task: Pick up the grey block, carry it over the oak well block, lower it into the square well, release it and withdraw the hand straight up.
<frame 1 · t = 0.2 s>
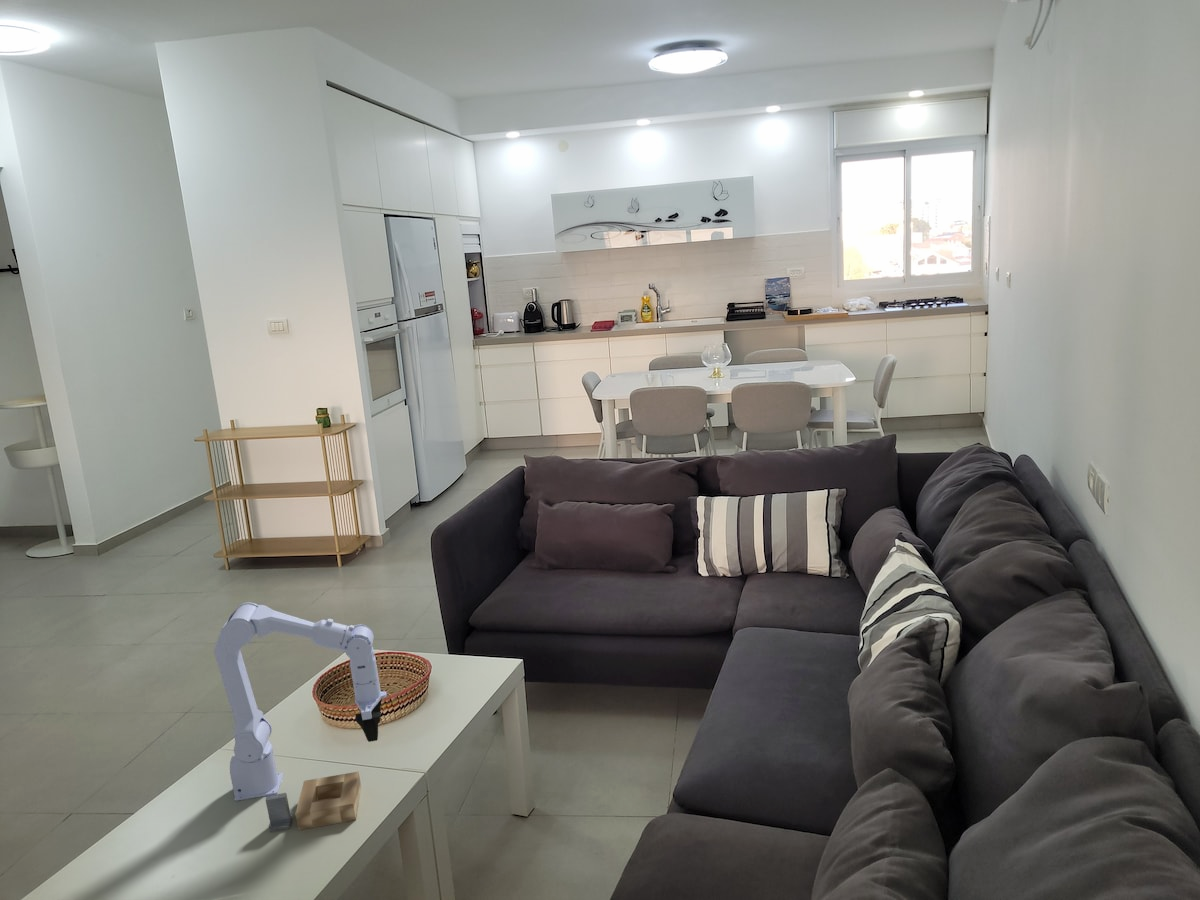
hand: (374, 731, 207), 10 cm above the table, fingers open, 7 cm apart
well block: (330, 807, 196), on the table
grey block: (281, 824, 192), on the table
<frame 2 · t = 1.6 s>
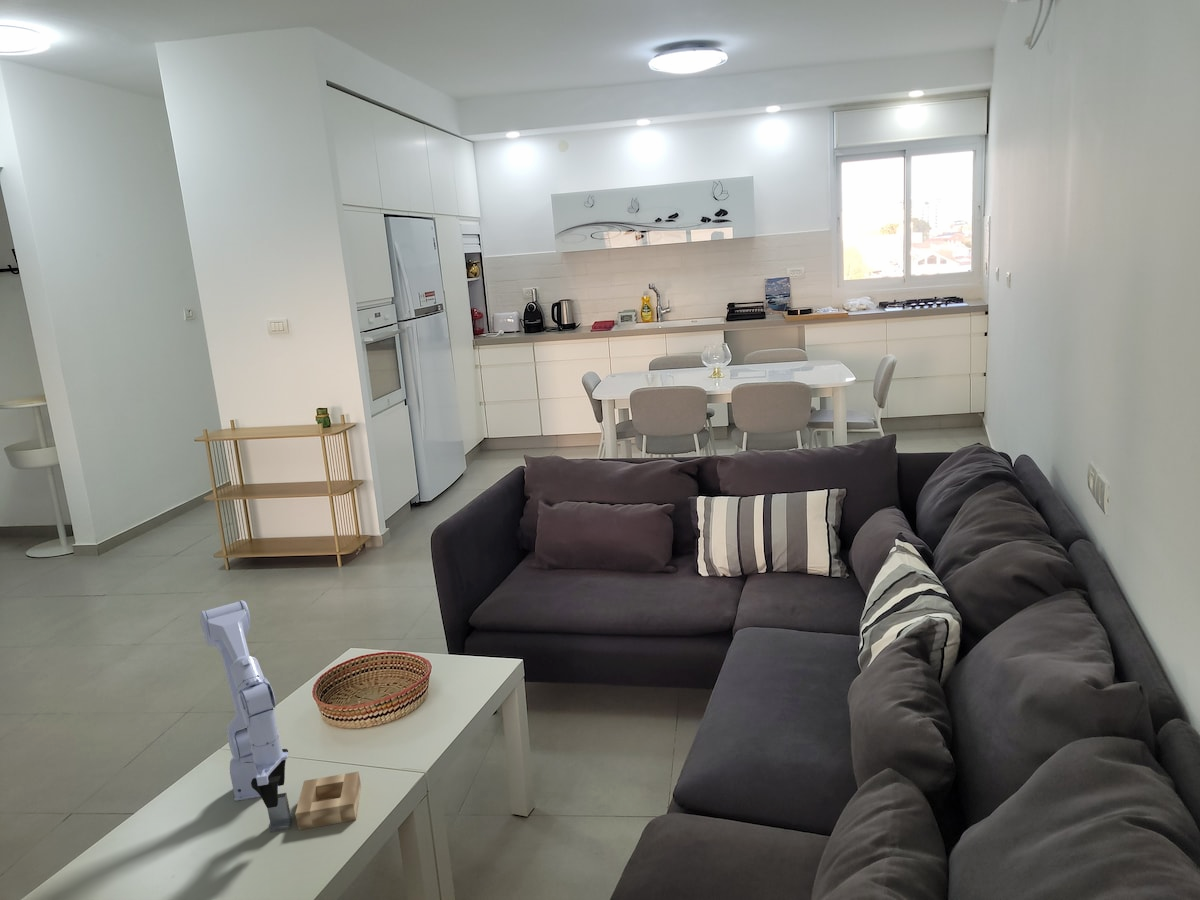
hand: (275, 795, 190), 7 cm above the table, fingers open, 7 cm apart
nothing on the table moved.
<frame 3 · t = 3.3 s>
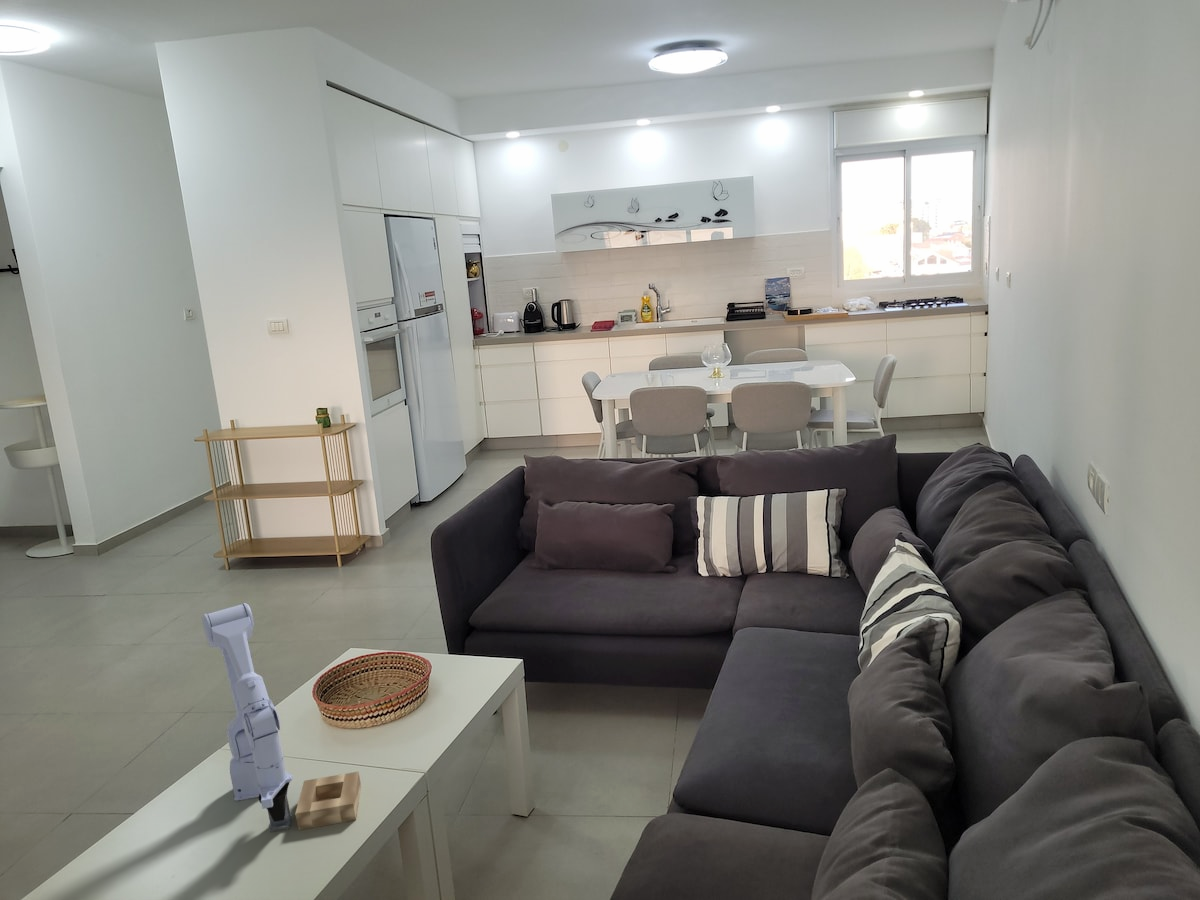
hand: (280, 816, 191), 2 cm above the table, fingers closed on grey block
grey block: (281, 824, 192), on the table, touching gripper
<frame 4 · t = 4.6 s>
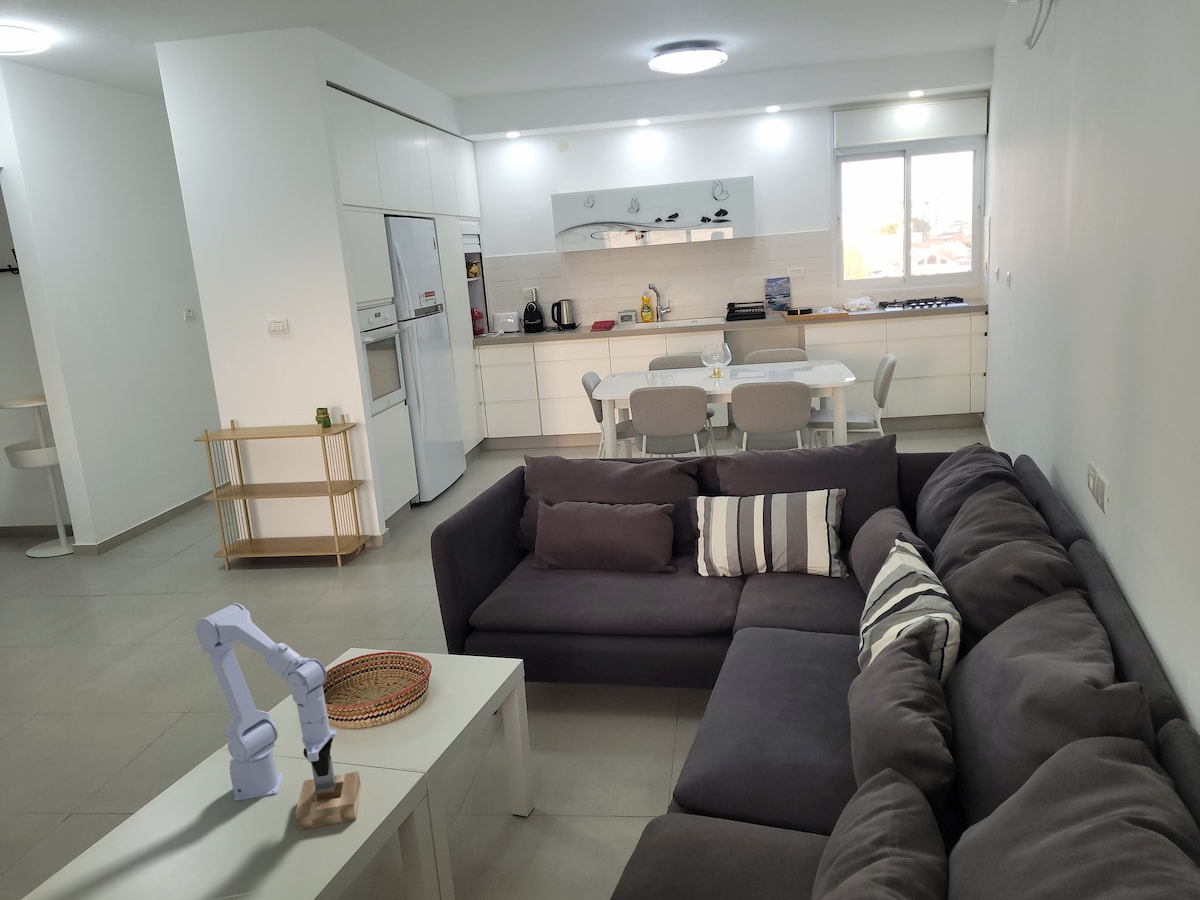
hand: (323, 772, 194), 9 cm above the table, fingers closed on grey block
grey block: (325, 787, 195), point 5 cm above the table, touching gripper
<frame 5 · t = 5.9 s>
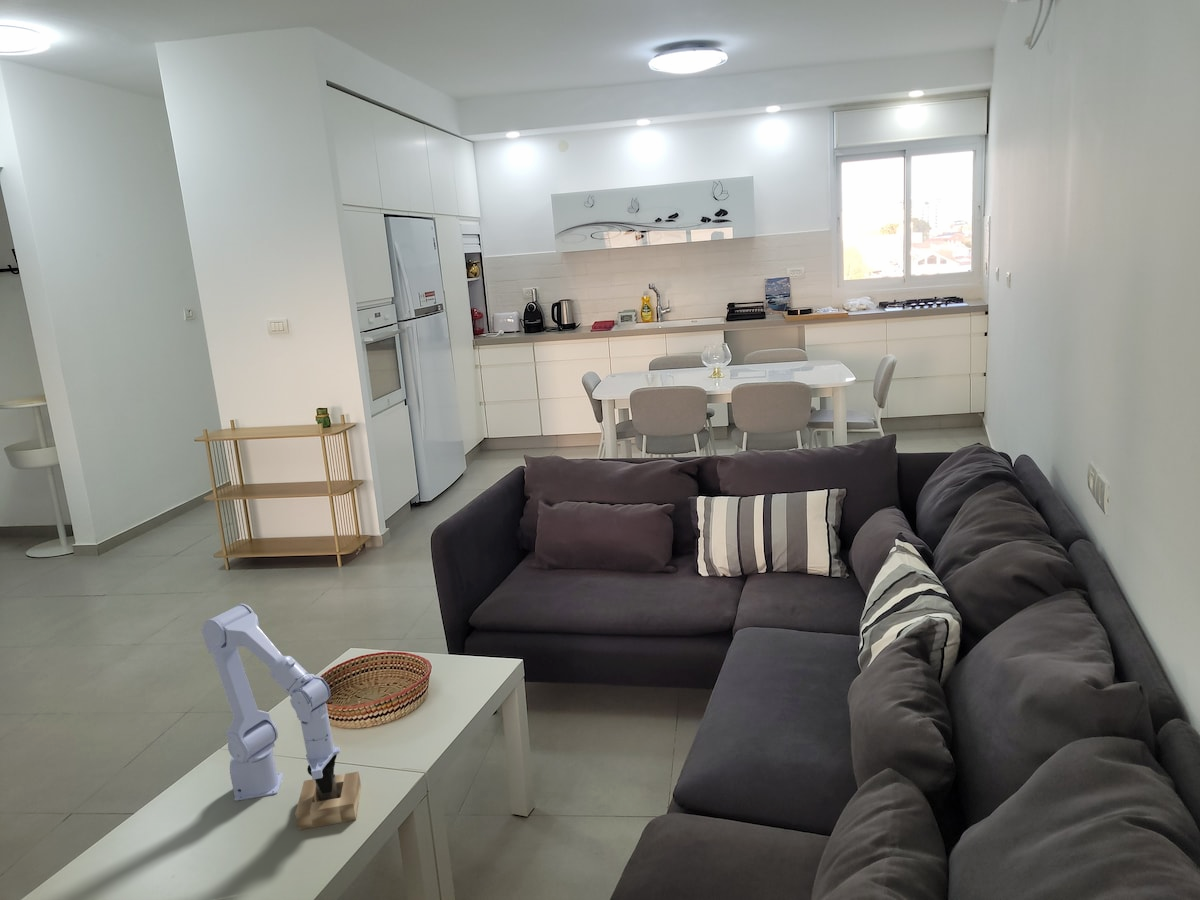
hand: (327, 789, 195), 5 cm above the table, fingers closed on grey block
grey block: (330, 805, 196), point 1 cm above the table, touching gripper, well block
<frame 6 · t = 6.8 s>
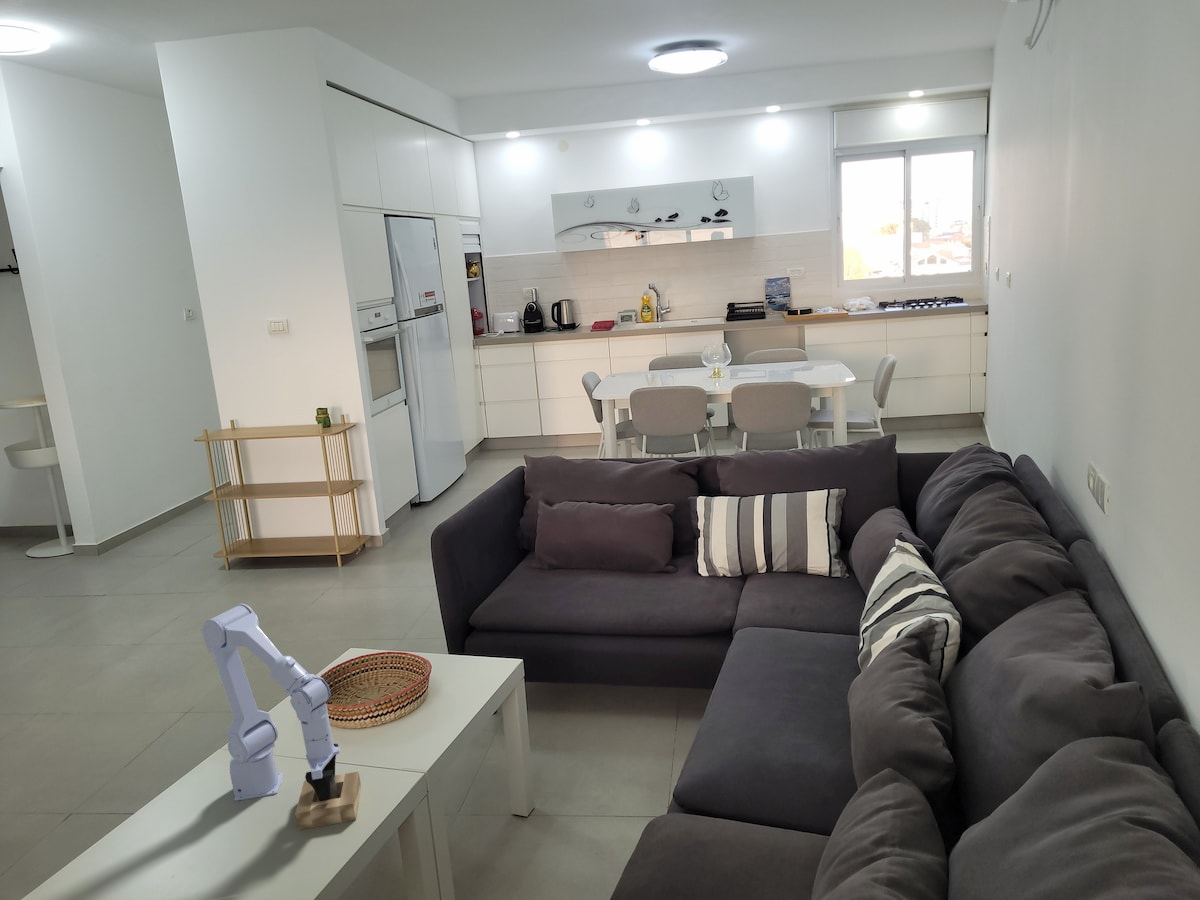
hand: (327, 789, 195), 5 cm above the table, fingers open, 7 cm apart
grey block: (330, 805, 196), resting on well block
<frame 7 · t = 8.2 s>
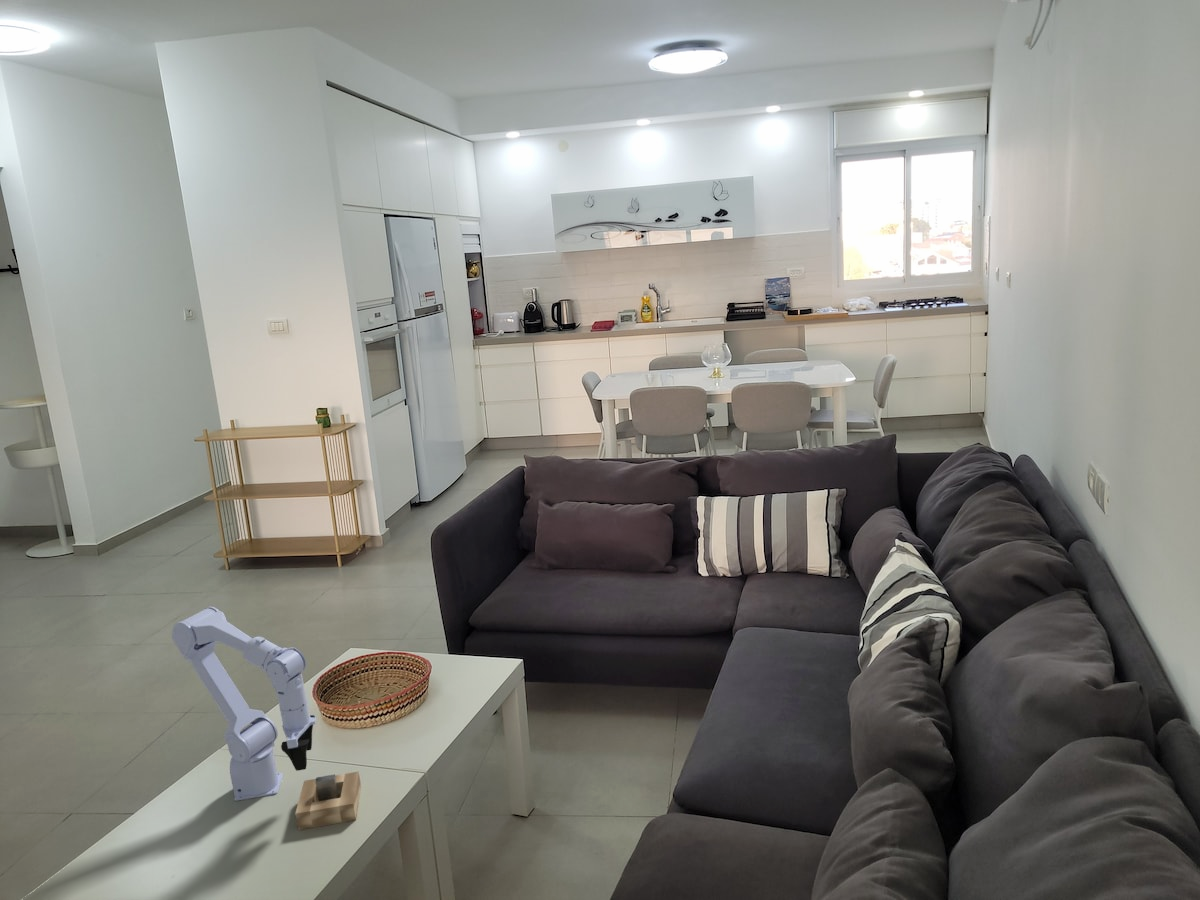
hand: (303, 759, 198), 10 cm above the table, fingers open, 7 cm apart
nothing on the table moved.
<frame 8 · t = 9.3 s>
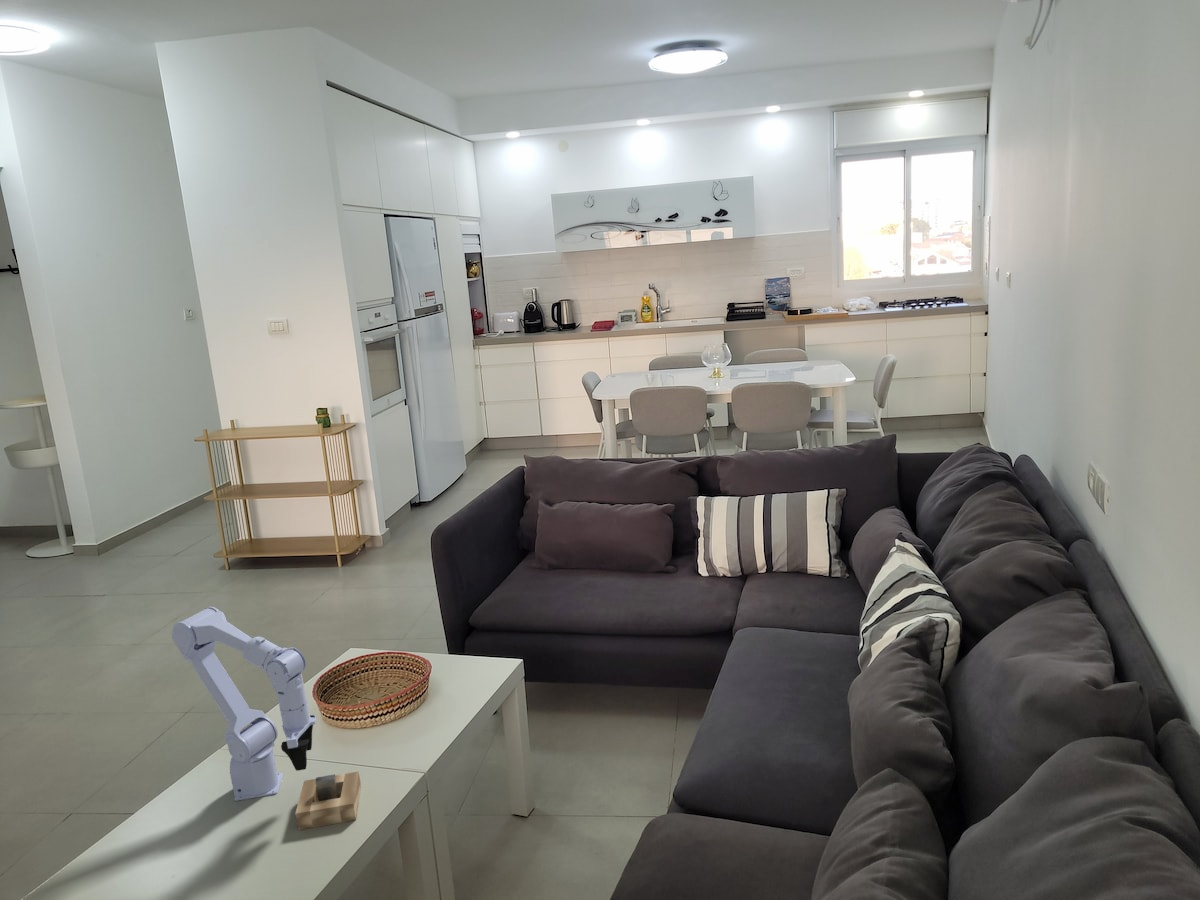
hand: (303, 759, 198), 10 cm above the table, fingers open, 7 cm apart
nothing on the table moved.
at the end: grey block 0.0 cm off-centre on the well block, point 0.5 cm above the well block's base; grey block tilted 0°; the gripper is holding nothing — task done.
